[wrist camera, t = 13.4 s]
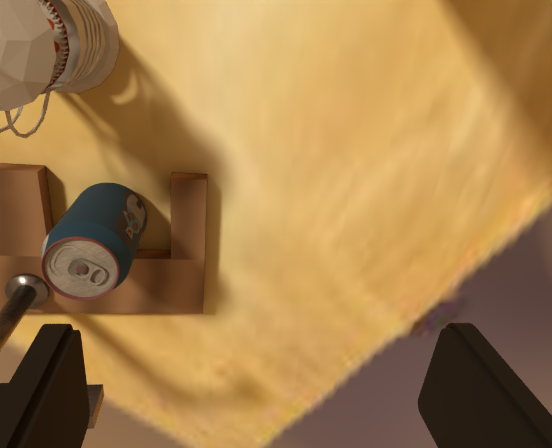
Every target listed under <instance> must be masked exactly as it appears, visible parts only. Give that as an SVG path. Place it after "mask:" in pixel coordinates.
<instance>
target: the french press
mask: <svg viewBox="0 0 552 448" xmlns="http://www.w3.org/2000/svg"><path fill="white" fill-rule="evenodd" d="M119 50H120V47H119V37H118V27H117V23H116V21H115V19H114V17H113V15H112V13H111V11H110V9H109V7H108V5H107V3H106V1H105V0H0V111H5V114H6V117H7V121H8V125H7V126H5V127H3V128H1V129H0V133H1V132H3V131H5V130H8V129H10V128H11V130H12V131H13V132H14V133H15V134H16V135H17V136H20V137H22V138H27V137H29V136H30V135H32V134H33V133H35V132H36V130H37V129H38V127H39V126H40V124H41V123H42V121H43V119H44V116H45V113H46V110H47V106H48V101H49V96H50V92H51V91H53V90H54V91H56V92H70V93H81V92H84V91H86V90H89V89H91V88H94V87H96V86H98V85H100V84H101V83H102V82H103V81H104V80H105V79H106V77H107V76H108V75H109V74H110V73H111V72H112V71H113V69H114V66H115V63H116V60H117V56H118V53H119ZM44 93H46V96H45V101H44V105H43V109H42V112H41V116H40V119H39V120H38V122H37V124H36V126H35V127H34V128H33V129H32V130H31V131H30V132H28V133H27V134H19V133H18V131H17V130H16V129H15V128H14V126H13V124H14V123H15V121H16V120H17V118H18V117H19V116H20V113H21V111H22V108H23V105H26V104H28V103H31V102H33V101H34V100H35V99H36V98H37V97H38V96H39V95H40V94H44ZM17 107H19V108H18V111H17V114H16V115H15V117H14V118H13V119H12V120H11V116H10V110H12V109H15V108H17Z"/></svg>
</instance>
